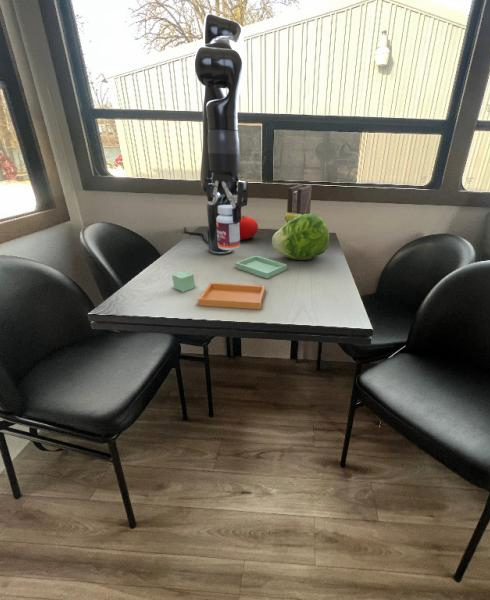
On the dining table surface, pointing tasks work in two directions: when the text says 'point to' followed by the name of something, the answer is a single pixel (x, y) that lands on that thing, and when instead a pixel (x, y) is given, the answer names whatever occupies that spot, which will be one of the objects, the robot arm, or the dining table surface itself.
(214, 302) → the amber tray
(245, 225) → the tomato
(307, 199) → the book
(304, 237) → the lettuce
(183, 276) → the sage block
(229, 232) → the pill bottle
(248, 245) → the dining table surface
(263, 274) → the sage tray
